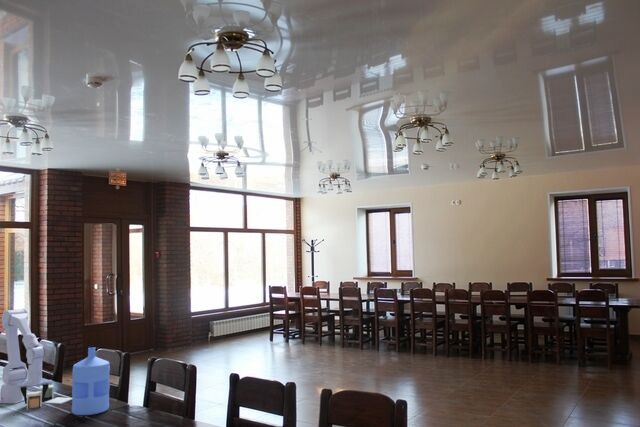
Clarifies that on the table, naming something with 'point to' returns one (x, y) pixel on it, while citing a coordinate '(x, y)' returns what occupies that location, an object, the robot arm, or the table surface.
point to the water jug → (90, 385)
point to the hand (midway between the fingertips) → (34, 402)
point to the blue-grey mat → (58, 400)
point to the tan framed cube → (34, 394)
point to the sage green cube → (48, 391)
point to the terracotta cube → (34, 402)
